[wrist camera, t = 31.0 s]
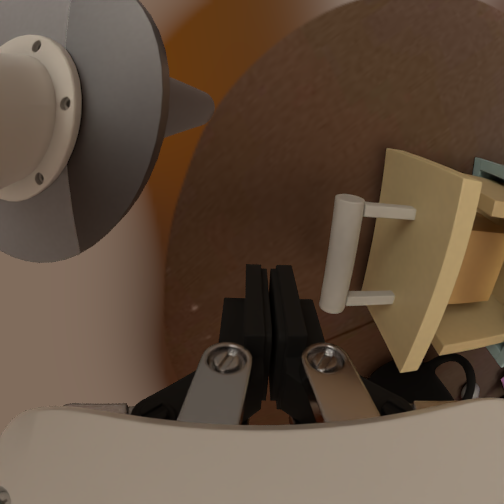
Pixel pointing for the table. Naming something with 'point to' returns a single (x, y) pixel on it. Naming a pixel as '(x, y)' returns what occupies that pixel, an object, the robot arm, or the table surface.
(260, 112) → the table surface
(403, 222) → the drawer
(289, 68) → the table surface
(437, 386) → the mug
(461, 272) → the block
